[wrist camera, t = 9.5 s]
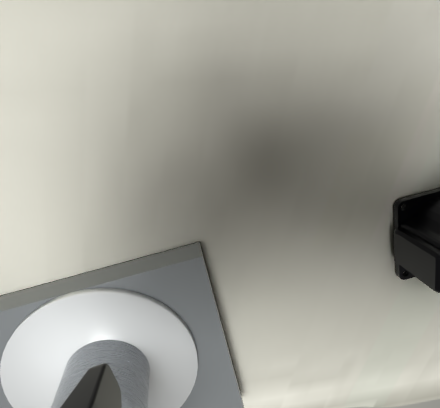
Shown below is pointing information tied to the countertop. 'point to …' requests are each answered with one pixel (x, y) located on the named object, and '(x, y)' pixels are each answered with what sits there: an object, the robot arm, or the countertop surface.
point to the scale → (122, 331)
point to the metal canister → (120, 365)
